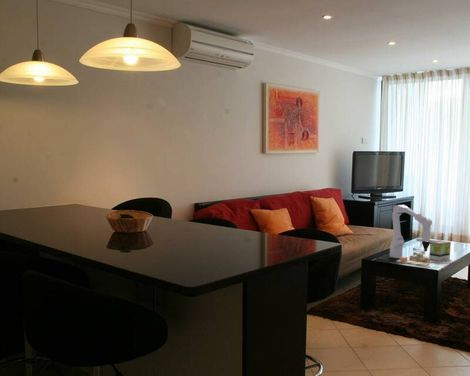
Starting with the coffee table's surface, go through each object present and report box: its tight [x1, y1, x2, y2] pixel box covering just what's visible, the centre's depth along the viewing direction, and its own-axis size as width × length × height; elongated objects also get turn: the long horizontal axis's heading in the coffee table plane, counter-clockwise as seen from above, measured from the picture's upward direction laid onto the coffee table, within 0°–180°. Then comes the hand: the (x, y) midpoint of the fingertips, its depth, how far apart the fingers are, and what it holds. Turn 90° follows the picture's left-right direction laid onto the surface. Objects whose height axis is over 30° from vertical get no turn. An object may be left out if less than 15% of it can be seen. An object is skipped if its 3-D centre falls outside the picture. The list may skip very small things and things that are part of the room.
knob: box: [399, 255, 408, 261], centre depth 375 cm, size 4×4×3 cm
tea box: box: [428, 239, 451, 262], centre depth 387 cm, size 15×10×15 cm
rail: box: [396, 259, 430, 267], centre depth 371 cm, size 22×8×1 cm, turn 48°
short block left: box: [409, 254, 416, 261], centre depth 381 cm, size 4×4×4 cm
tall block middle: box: [415, 252, 424, 262], centre depth 378 cm, size 4×4×6 cm
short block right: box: [423, 256, 431, 264], centre depth 374 cm, size 4×4×4 cm
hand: (425, 251), depth 373 cm, fingers closed
